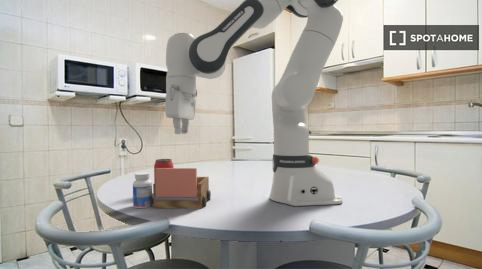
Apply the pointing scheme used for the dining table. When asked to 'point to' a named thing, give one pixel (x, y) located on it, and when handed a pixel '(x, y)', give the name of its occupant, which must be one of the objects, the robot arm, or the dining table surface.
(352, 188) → the dining table surface
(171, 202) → the truck bed
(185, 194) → the tailgate
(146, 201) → the pill bottle
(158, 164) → the beer can
